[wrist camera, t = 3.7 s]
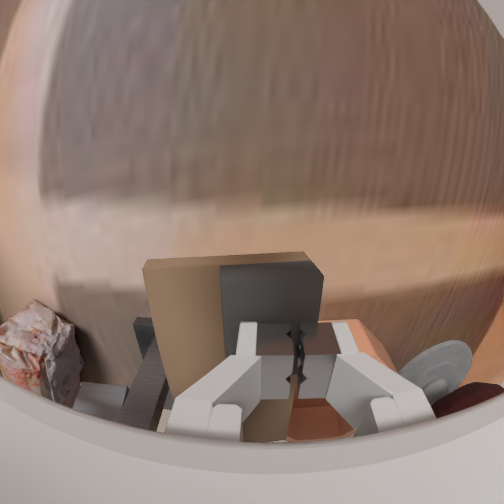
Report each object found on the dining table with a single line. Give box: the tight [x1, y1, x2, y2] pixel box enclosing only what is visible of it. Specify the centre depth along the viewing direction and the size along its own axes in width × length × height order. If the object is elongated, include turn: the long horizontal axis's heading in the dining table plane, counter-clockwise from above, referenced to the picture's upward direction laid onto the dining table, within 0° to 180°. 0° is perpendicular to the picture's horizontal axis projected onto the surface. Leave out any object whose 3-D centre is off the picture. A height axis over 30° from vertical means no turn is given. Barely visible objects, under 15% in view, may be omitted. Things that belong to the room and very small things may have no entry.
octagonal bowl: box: [285, 319, 398, 442], centre depth 21 cm, size 11×11×4 cm
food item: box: [0, 300, 84, 408], centre depth 19 cm, size 14×8×10 cm, turn 163°
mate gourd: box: [398, 340, 504, 419], centre depth 15 cm, size 16×14×20 cm
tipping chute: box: [72, 252, 324, 443], centre depth 13 cm, size 15×18×8 cm
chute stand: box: [116, 317, 174, 431], centre depth 18 cm, size 6×11×11 cm, turn 0°
